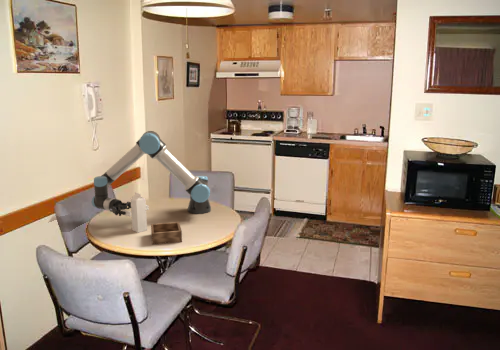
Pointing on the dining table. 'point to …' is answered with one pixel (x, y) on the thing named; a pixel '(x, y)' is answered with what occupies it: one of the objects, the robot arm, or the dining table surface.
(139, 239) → the dining table surface
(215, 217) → the dining table surface
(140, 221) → the milk
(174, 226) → the box
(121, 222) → the dining table surface
